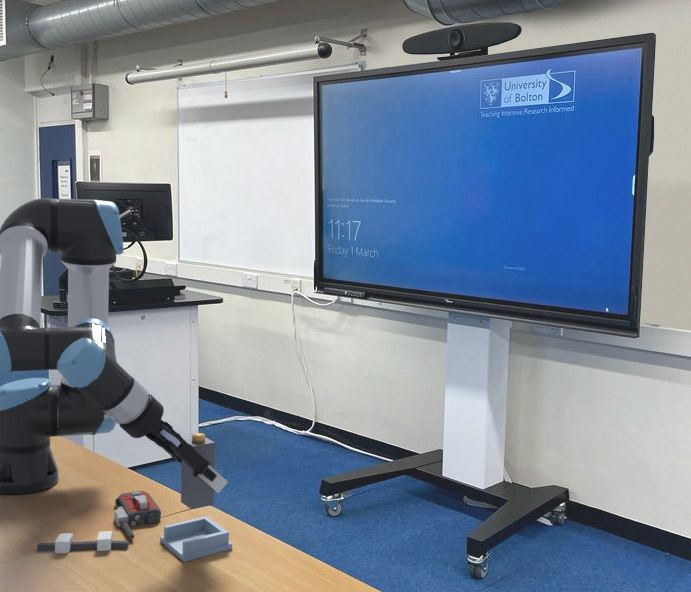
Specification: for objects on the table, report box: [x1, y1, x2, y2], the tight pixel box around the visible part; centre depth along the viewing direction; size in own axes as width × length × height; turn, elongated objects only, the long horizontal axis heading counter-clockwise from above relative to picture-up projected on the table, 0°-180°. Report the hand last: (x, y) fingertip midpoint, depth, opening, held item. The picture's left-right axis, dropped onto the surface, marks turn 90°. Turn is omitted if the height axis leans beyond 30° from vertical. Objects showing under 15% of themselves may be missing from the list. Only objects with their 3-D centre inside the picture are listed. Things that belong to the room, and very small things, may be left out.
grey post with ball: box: [180, 432, 216, 510], centre depth 143 cm, size 4×4×13 cm
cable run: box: [36, 530, 130, 554], centre depth 142 cm, size 4×16×2 cm, turn 102°
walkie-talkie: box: [114, 490, 162, 540], centre depth 156 cm, size 9×4×20 cm
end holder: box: [159, 515, 233, 563], centre depth 145 cm, size 10×10×3 cm
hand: (215, 482), depth 146 cm, fingers closed on grey post with ball, 4 cm apart
